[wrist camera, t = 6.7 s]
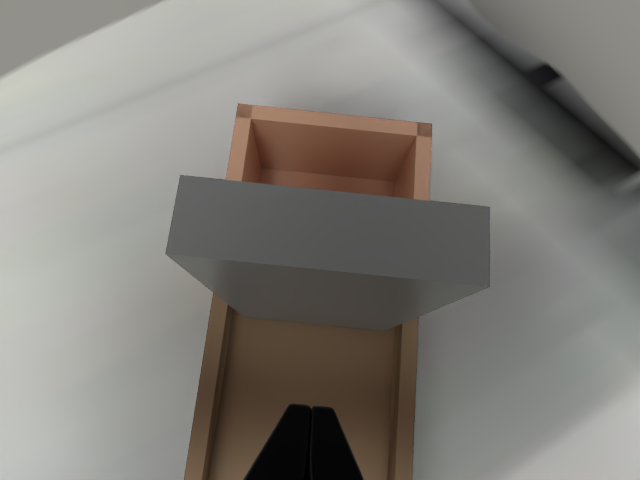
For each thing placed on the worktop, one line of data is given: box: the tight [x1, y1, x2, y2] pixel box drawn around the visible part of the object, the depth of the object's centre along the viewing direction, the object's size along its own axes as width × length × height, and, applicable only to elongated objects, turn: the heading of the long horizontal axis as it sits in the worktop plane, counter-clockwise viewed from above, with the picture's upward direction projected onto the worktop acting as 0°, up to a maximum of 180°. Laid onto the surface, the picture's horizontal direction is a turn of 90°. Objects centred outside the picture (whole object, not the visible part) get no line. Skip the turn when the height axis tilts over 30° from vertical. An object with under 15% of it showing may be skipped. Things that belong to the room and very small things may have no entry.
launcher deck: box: [184, 293, 419, 480], centre depth 15 cm, size 8×6×4 cm
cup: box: [226, 104, 432, 201], centre depth 17 cm, size 6×6×4 cm
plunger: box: [166, 175, 490, 331], centre depth 11 cm, size 1×5×9 cm, turn 84°
